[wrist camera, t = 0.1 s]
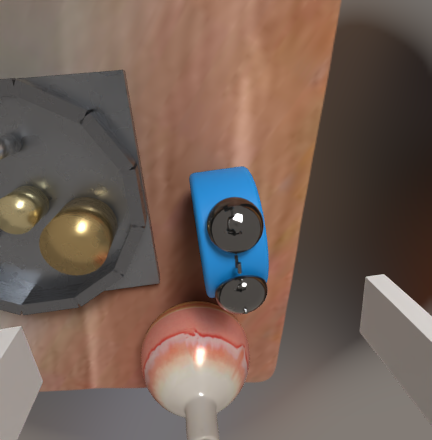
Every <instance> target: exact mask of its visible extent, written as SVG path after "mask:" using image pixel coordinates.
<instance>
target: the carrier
mask: <svg viewBox="0 0 432 440" xmlns="http://www.w3.org/2000/svg"><path fill="white" fill-rule="evenodd" d="M158 283H160V274H159V268H158V262H157V256H156V250H155V244H154V239H153V233H152V227H151V221H150V215H149V209H148V203H147V197H146V192H145V186H144V180H143V174H142V168H141V162H140V156H139V151H138V145H137V139H136V133H135V127H134V121H133V115H132V110H131V104H130V98H129V92H128V86H127V80H126V74H125V71H124V70H116V71H104V72H92V73H80V74H68V75H55V76H43V77H31V78H19V79H13V78H10V79H0V310H3V311H7V312H11V313H15V314H18V315H20V314H21V313H23V315H28V314H35V313H42V312H49V311H57V310H64V309H71V308H78V307H79V306H83V305H84V304H86V303H87V302H88V301H90V300H91V299H93V298H94V297H96V296H97V295H99V294H100V293H101V292H103V291H106V290H114V289H121V288H128V287H136V286H143V285H150V284H158Z"/></svg>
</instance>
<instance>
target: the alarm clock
mask: <svg viewBox="0 0 432 440" xmlns="http://www.w3.org/2000/svg"><path fill="white" fill-rule="evenodd" d="M189 180H190V188H191V196H192V203H193V210H194V217H195V224H196V230H197V237H198V244H199V250H200V257H201V263H202V270H203V276H204V282H205V288H206V293H207V295H208V296H209V297H210V298H215V297H216V301H217V303H218V304H219V306H220V307H221V308H223V309H224V310H225V311H227V312H230V313H234V314H247V313H249V312H252V311H254V310H256V309H257V308H258V307H260V306H261V305H262V303H263V302H264V301H265V298H266V296H267V284H266V283H267V279H268V269H269V260H268V245H267V236H266V228H265V222H264V216H263V211H262V207H261V202H260V198H259V194H258V191H257V188H256V185H255V182H254V179H253V177H252V175H251V173H250V172H249V170H248V169H247V168H245V167H242V166H241V167H234V168H226V169H219V170H212V171H205V172H197V173H193V174H191V175H190V178H189Z"/></svg>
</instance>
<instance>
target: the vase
mask: <svg viewBox="0 0 432 440" xmlns="http://www.w3.org/2000/svg"><path fill="white" fill-rule="evenodd" d="M249 363H250V354H249V345H248V340H247V337H246V334H245V332H244V330H243V328H242V326H241V324H240V323H239V321H238V320H237V319H236V318H235V317H234V316H233V315H232V314H231V313H230V312H227V311H225V310H224V309H223V308H221V307H220V306H218V305H216V304H213V303H209V302H204V301H190V302H185V303H181V304H178V305H176V306H173V307H171V308H170V309H168V310H166V311H165V312H163V313H162V314H161V315H160V316H159V317H158V318H157V319H156V320H155V321H154V322H153V323H152V325H151V326H150V328H149V329H148V331H147V333H146V336H145V338H144V341H143V345H142V350H141V369H142V373H143V378H144V381H145V383H146V386H147V388H148V390H149V392H150V393H151V395H152V396H153V397H154V399H155V400H156V401H157V402H158V403H159V404H160V405H161V406H162V407H163V408H165V409H166V410H168V411H169V412H171V413H173V414H175V415H178V416H181V417H185V418H186V432H187V440H219V431H218V422H217V413H218V412H220V411H221V410H223V409H224V408H225V407H227V406H228V405H229V404H230V403H231V402H232V401H233V400H234V399H235V397H236V396H237V395H238V393H239V392H240V390H241V389H242V387H243V385H244V383H245V380H246V377H247V374H248V370H249Z"/></svg>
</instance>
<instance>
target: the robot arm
mask: <svg viewBox="0 0 432 440" xmlns="http://www.w3.org/2000/svg"><path fill="white" fill-rule="evenodd" d="M363 297H364V298H363V306H362V315H361V325H360V333H361V334H362V336H363V337H364V338H365V340H366V341H367V342H368V343H369V345H370V346H371V347H372V349H373V350H374V351H375V352H376V354H377V355H378V356H379V358H380V359H381V361H382V362H383V363H384V364H385V366H386V367H387V368H388V370H389V371H390V372H391V374H392V375H393V376H394V377H395V379H396V380H397V381H398V383H399V384H400V385H401V387H402V388H403V389H404V390H405V392H406V393H407V394H408V396H409V397H410V399H411V400H412V401H413V402H414V404H415V405H416V406H417V408H418V409H419V410H420V411H421V413H422V414H423V415H424V417H425V418H426V419H427V421H428V422H429V423H430V425H431V426H432V316H430V315H429V314H428V313H427V312H426V311H425V310H424V309H423V308H421V307H420V306H419V305H418V304H417V303H416V302H415V301H413V300H412V299H411V298H410V297H409V296H408V295H407V294H406V293H404V292H403V291H402V290H401V289H400V288H399V287H398V286H397V285H395V284H394V283H393V282H392V281H391V280H390V279H389V278H388V277H386V276H385V275H384V274H382V275H375V276H369V277H366V278H365V287H364V296H363ZM42 383H43V380H42V378H41V375H40V373H39V370H38V367H37V365H36V362H35V360H34V357H33V355H32V352H31V349H30V347H29V344H28V342H27V339H26V337H25V334H24V331H23V329H22V326H18V327H11V328H4V329H0V440H18V437H19V435H20V433H21V430H22V428H23V426H24V424H25V421H26V419H27V417H28V414H29V412H30V410H31V408H32V405H33V403H34V401H35V399H36V396H37V393H38V392H39V389H40V387H41V385H42Z"/></svg>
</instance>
